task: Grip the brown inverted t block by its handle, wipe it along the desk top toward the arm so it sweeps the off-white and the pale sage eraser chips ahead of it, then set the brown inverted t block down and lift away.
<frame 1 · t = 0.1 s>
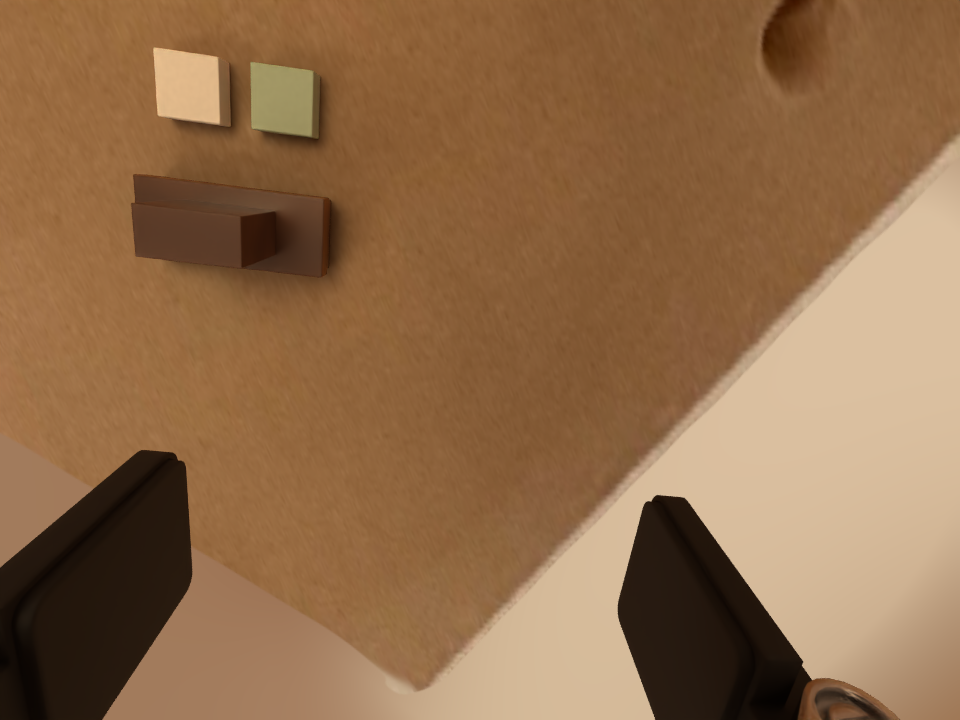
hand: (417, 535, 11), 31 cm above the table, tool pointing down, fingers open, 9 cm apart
chip b: (290, 103, 36), on the table
chip a: (200, 91, 35), on the table
brown inverted t block: (247, 224, 38), on the table
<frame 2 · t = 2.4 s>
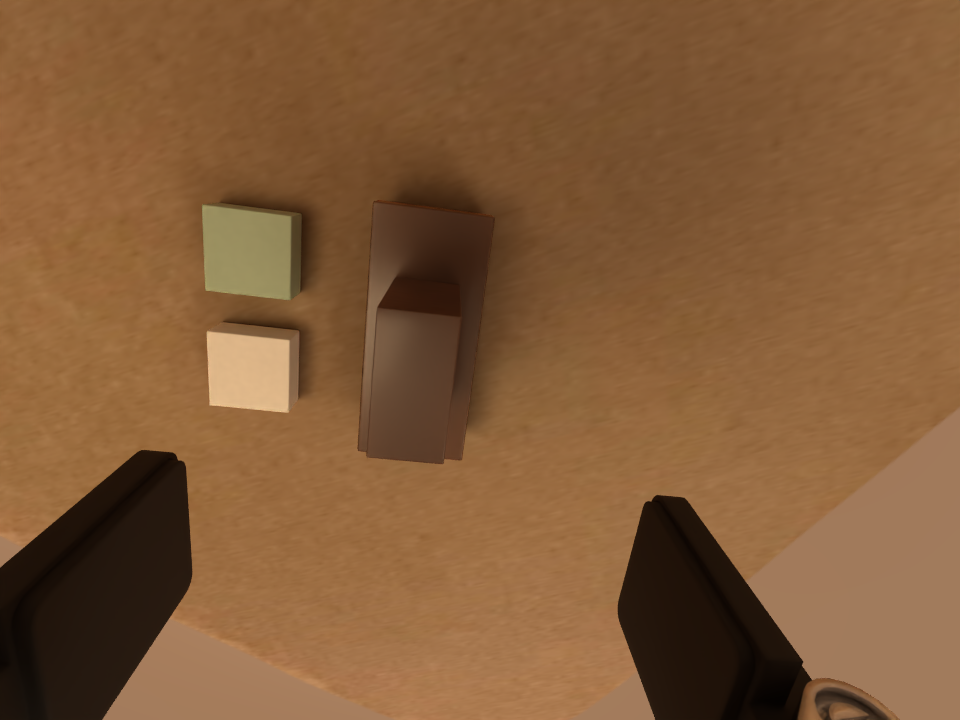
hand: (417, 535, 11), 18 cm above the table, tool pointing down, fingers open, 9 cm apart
chip b: (260, 249, 26), on the table
chip a: (261, 361, 28), on the table
brown inverted t block: (424, 325, 28), on the table
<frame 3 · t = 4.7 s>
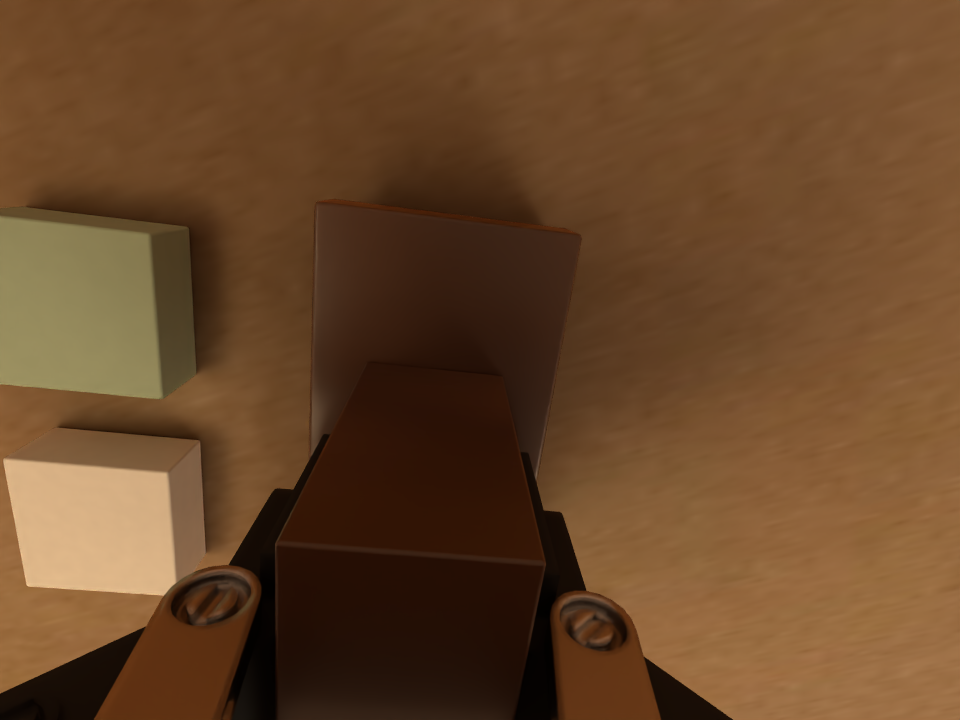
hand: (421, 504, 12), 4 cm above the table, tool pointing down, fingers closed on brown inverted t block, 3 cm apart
chip b: (114, 295, 14), on the table
chip a: (134, 493, 15), on the table
brown inverted t block: (429, 429, 15), on the table, touching gripper
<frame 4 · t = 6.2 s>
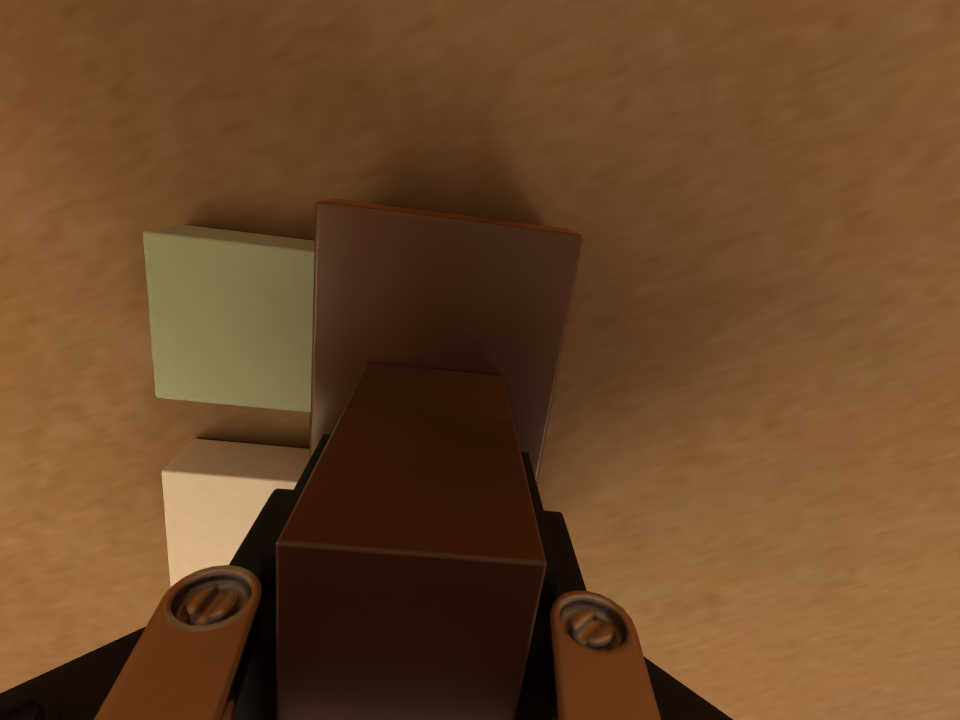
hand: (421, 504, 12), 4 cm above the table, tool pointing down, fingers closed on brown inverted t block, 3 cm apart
chip b: (264, 310, 14), on the table, touching brown inverted t block
chip a: (265, 502, 16), on the table, touching brown inverted t block
brown inverted t block: (430, 429, 15), on the table, touching chip a, chip b, gripper
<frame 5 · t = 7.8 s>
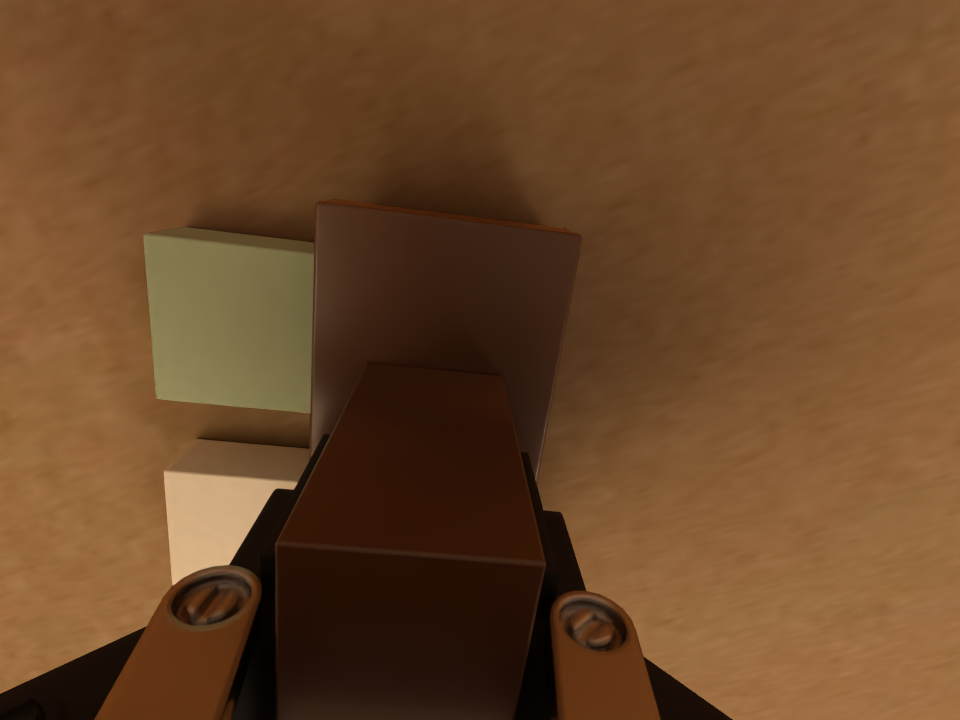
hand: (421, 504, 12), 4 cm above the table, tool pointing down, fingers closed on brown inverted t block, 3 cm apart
chip b: (264, 312, 14), on the table
chip a: (266, 502, 16), on the table, touching brown inverted t block
brown inverted t block: (430, 429, 15), on the table, touching chip a, gripper
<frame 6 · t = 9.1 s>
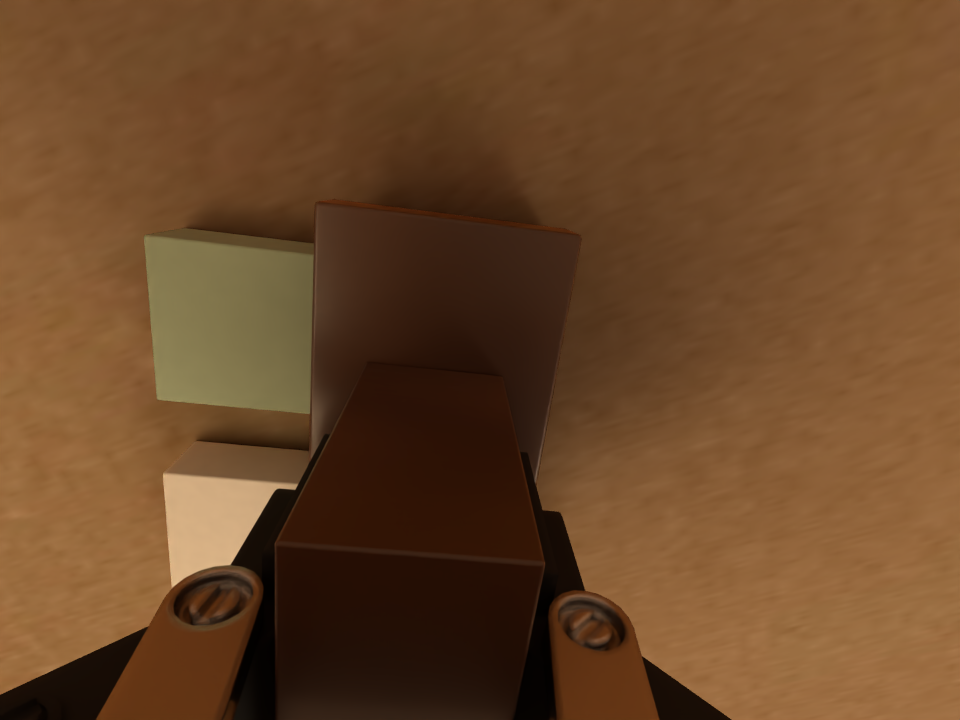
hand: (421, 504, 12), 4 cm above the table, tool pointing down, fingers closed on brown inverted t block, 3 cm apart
chip b: (264, 312, 14), on the table, touching brown inverted t block
chip a: (266, 504, 16), on the table, touching brown inverted t block
brown inverted t block: (429, 429, 15), on the table, touching chip a, chip b, gripper
when the fingers open (4 cm above the table, at t = 9.2 s): brown inverted t block stays where it is, on the table.
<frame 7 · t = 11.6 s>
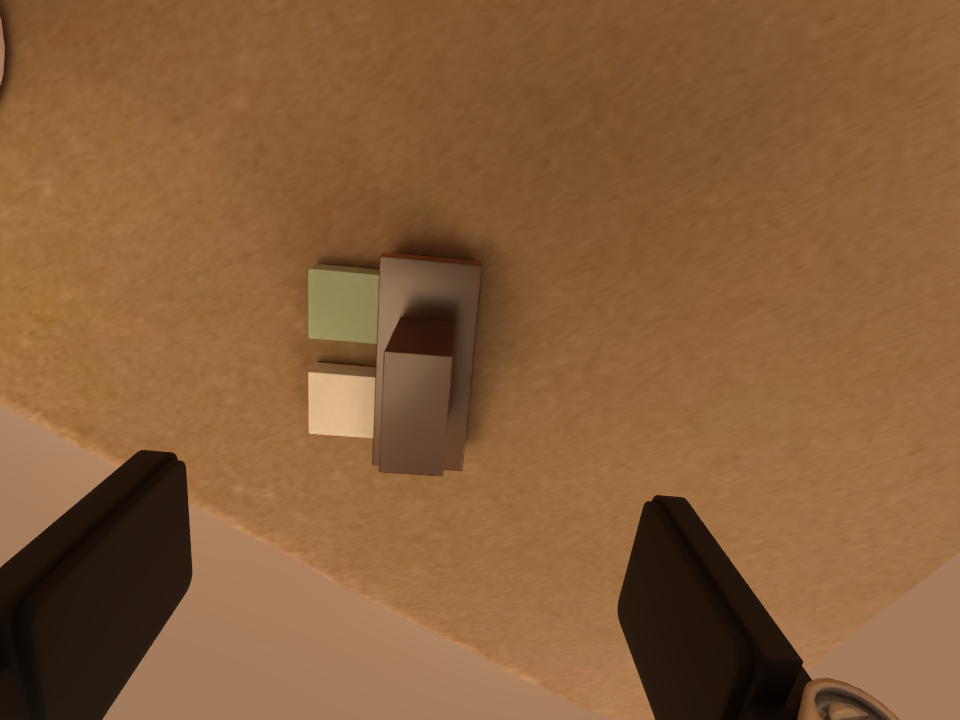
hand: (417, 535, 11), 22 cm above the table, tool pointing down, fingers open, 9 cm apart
chip b: (350, 300, 31), on the table
chip a: (348, 394, 33), on the table
brown inverted t block: (427, 354, 32), on the table
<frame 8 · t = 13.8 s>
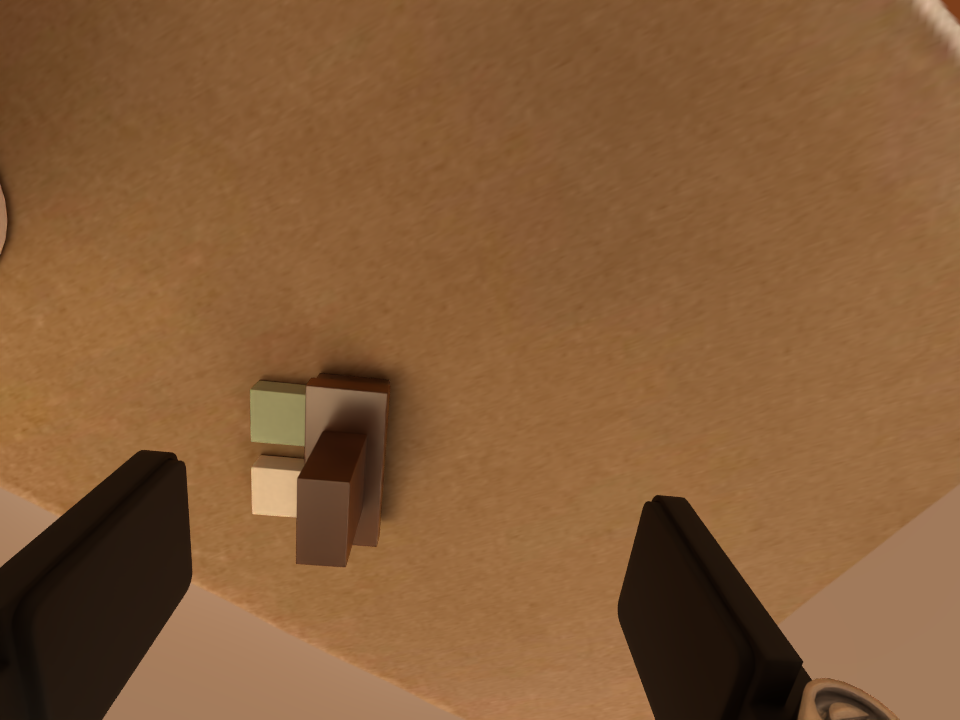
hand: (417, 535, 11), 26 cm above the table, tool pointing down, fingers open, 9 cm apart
chip b: (287, 408, 38), on the table
chip a: (287, 480, 40), on the table
brown inverted t block: (351, 450, 39), on the table
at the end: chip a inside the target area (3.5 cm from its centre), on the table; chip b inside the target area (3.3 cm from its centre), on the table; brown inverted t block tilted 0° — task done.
